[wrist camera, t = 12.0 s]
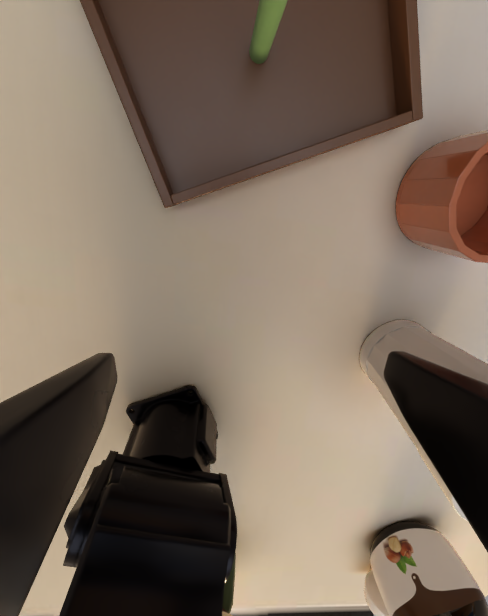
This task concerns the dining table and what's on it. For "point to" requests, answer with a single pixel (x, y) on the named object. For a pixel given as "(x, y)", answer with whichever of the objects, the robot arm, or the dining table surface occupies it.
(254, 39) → the straw
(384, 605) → the spread jar
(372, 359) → the cup
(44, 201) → the dining table surface
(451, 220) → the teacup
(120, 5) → the tray
